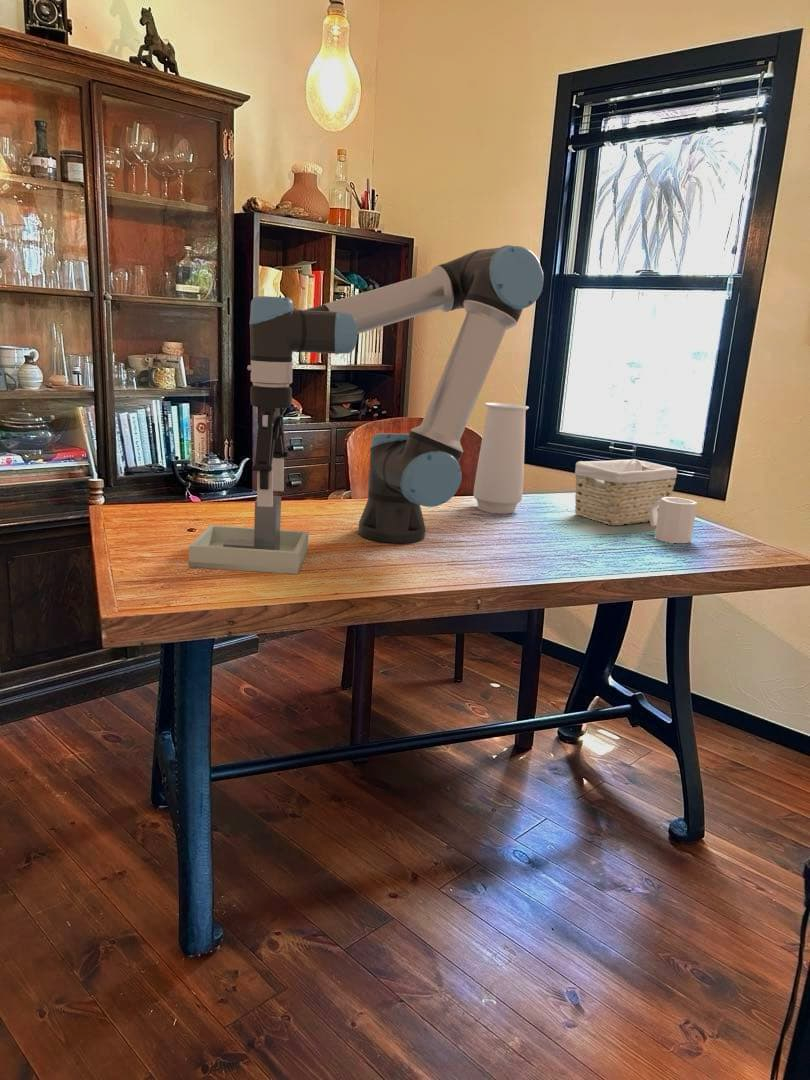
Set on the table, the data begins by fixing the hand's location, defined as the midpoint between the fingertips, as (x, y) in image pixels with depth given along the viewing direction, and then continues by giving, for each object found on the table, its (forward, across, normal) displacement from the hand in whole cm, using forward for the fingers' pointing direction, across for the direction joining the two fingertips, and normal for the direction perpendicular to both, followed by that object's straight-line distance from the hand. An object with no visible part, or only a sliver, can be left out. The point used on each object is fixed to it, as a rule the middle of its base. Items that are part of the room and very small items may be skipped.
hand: (271, 498), depth 146 cm
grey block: (+11, 0, -4) cm, 12 cm away
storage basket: (+15, -59, +85) cm, 105 cm away
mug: (+15, -40, +91) cm, 101 cm away
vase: (+14, -59, +51) cm, 79 cm away
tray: (+12, 0, -4) cm, 13 cm away
